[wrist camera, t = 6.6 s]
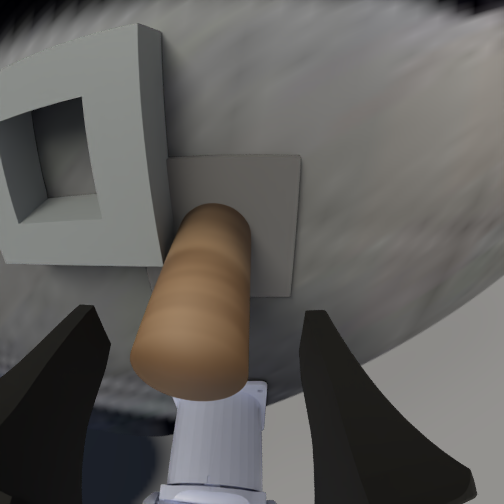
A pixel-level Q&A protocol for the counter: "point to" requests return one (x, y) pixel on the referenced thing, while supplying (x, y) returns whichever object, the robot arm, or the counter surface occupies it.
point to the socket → (100, 150)
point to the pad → (244, 208)
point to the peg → (199, 310)
